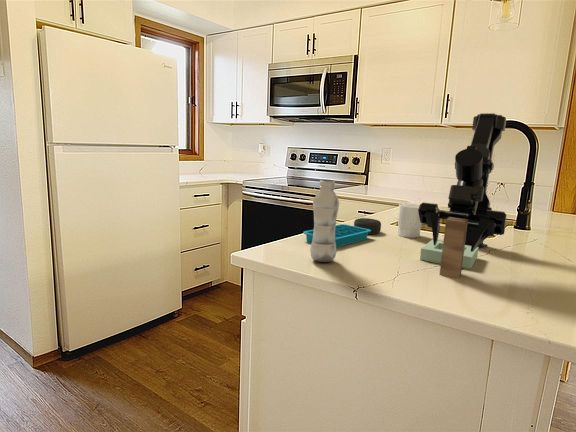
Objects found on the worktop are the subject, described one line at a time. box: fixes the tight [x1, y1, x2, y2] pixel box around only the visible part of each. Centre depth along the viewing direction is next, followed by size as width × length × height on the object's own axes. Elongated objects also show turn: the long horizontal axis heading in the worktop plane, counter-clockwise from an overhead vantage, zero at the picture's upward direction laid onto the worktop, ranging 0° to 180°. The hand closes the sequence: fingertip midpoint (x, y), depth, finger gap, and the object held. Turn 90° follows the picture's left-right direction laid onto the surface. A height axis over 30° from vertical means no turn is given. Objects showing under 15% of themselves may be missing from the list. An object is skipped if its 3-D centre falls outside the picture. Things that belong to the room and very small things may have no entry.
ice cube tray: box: [303, 223, 371, 248], centre depth 119 cm, size 12×20×3 cm, turn 135°
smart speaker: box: [353, 217, 382, 235], centre depth 131 cm, size 9×9×4 cm
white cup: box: [397, 203, 423, 239], centre depth 128 cm, size 8×8×10 cm
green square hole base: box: [419, 239, 480, 270], centre depth 103 cm, size 12×12×3 cm
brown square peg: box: [439, 217, 468, 279], centre depth 90 cm, size 4×4×13 cm
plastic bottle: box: [309, 179, 340, 263], centre depth 95 cm, size 6×7×20 cm
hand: (452, 247), depth 89 cm, fingers open, 8 cm apart
